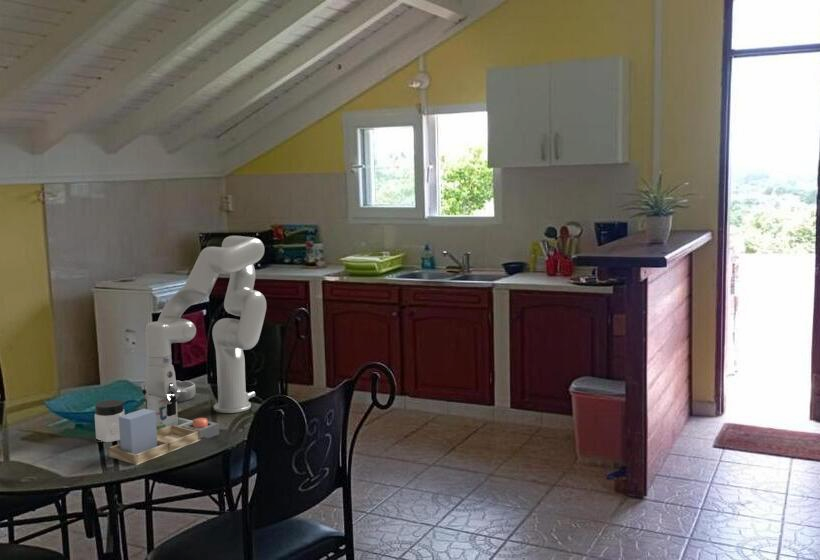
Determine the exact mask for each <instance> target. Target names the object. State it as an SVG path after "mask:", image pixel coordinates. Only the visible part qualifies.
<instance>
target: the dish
mask: <svg viewBox="0 0 820 560" xmlns="http://www.w3.org/2000/svg"><path fill="white" fill-rule="evenodd" d="M176 386H177V389H179V390H180V395H179V399H178V400H177V403H179V402H185V401H188V400H191V399H193V398H194V397H195V395H196V384H195V383H194V382H193V381H190V380H183V381H181V380H177V379H176Z"/></svg>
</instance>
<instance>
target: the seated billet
mask: <svg viewBox="0 0 820 560" xmlns="http://www.w3.org/2000/svg"><path fill="white" fill-rule="evenodd" d="M119 429H120V440H119V444H121V450H122V451H126V452H129V453H133V454H138V453H141V452H144V451H146V450H149V449H152V448H154V447H157V429H156V412H155V411H152V410H148V409H146V408H141V409H138V410H135V411H133V412H129V413H125V415H122V416H119Z"/></svg>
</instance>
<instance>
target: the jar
mask: <svg viewBox="0 0 820 560" xmlns="http://www.w3.org/2000/svg"><path fill="white" fill-rule="evenodd" d="M94 408H95V409H94V410H95V414H94V426H95V427H94V428H95V438H96V439H98V440H101V441H100V442H102V441H103V442H104V443H113V442H115V441H120V429H119V416H122V415H126V412H125V409H124V402H123V401H122V400H119V399H108V400H102V401H99V402H97V403H95V404H94ZM96 439H95V440H96Z"/></svg>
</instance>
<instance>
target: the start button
mask: <svg viewBox="0 0 820 560" xmlns="http://www.w3.org/2000/svg"><path fill="white" fill-rule="evenodd" d="M192 421H193V427H195V428H199V429H200V428H203V427H206V426H208V423H207V421H208V418H206V417H198V418H197V417H196V418H194V419H192Z"/></svg>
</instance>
